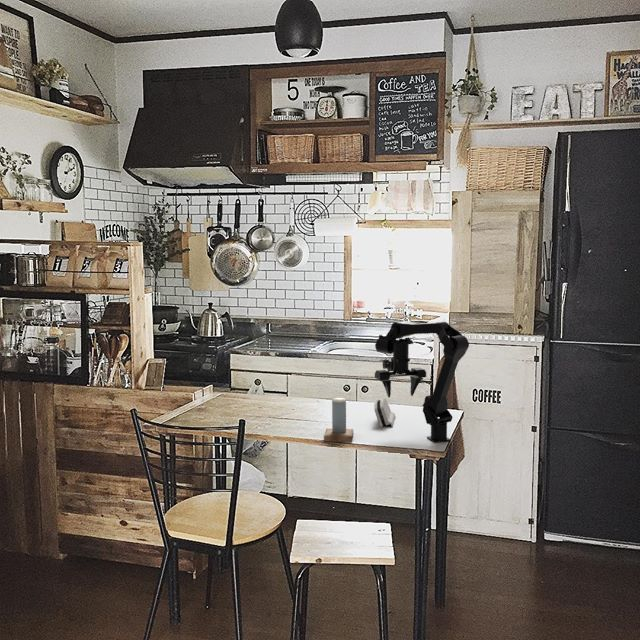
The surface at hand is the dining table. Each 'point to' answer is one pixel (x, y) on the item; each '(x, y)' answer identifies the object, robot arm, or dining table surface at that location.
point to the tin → (339, 415)
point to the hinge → (384, 413)
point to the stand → (338, 436)
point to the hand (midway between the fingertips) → (400, 396)
